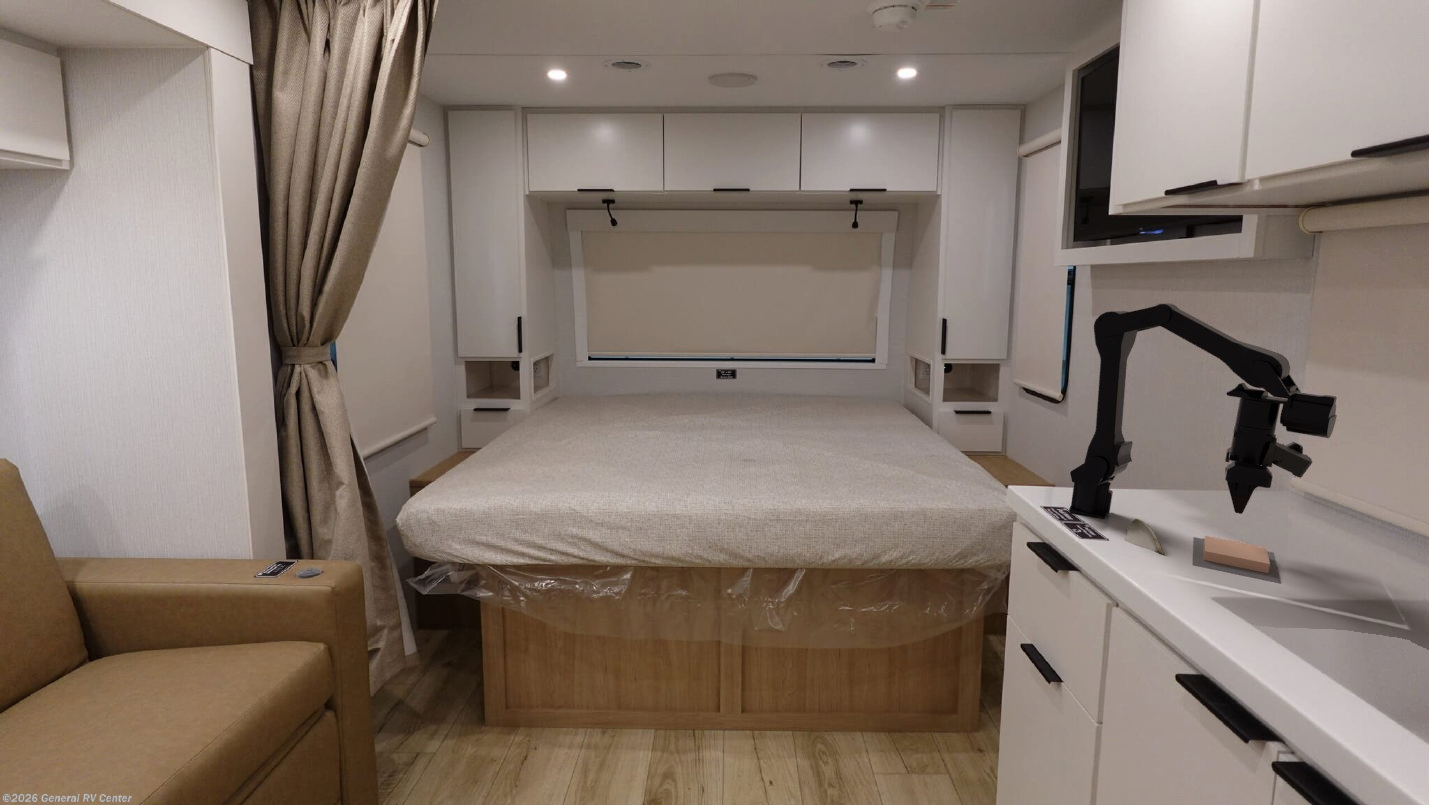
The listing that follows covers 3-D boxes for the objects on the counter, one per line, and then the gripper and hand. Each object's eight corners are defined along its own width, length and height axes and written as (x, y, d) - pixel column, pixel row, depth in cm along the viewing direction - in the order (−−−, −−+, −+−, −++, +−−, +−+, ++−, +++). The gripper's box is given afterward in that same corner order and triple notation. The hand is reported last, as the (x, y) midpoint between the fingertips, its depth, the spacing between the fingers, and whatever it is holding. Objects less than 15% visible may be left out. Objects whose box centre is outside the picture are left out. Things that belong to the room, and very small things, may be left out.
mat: (1192, 567, 129) (1192, 564, 129) (1193, 539, 143) (1193, 537, 143) (1280, 586, 123) (1281, 583, 123) (1273, 555, 137) (1273, 552, 137)
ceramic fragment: (1166, 560, 133) (1169, 538, 133) (1133, 557, 134) (1136, 535, 133) (1135, 533, 147) (1138, 513, 146) (1106, 530, 148) (1109, 510, 147)
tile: (1203, 544, 139) (1203, 560, 132) (1204, 535, 139) (1204, 550, 131) (1264, 556, 135) (1268, 573, 127) (1266, 547, 134) (1270, 564, 127)
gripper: (1319, 444, 122) (1299, 539, 125) (1308, 424, 138) (1291, 509, 141) (1234, 432, 128) (1217, 523, 131) (1233, 414, 143) (1218, 496, 147)
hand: (1238, 512), depth 137 cm, fingers closed
